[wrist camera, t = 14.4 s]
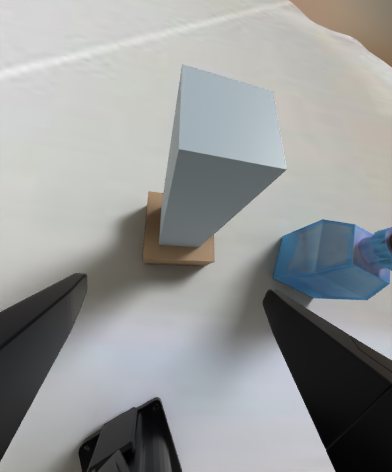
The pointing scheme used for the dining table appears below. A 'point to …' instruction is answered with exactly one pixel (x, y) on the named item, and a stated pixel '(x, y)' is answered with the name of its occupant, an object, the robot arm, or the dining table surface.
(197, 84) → the slate-blue post
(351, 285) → the perfume bottle
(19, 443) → the dining table surface
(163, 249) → the walnut plinth
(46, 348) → the robot arm
